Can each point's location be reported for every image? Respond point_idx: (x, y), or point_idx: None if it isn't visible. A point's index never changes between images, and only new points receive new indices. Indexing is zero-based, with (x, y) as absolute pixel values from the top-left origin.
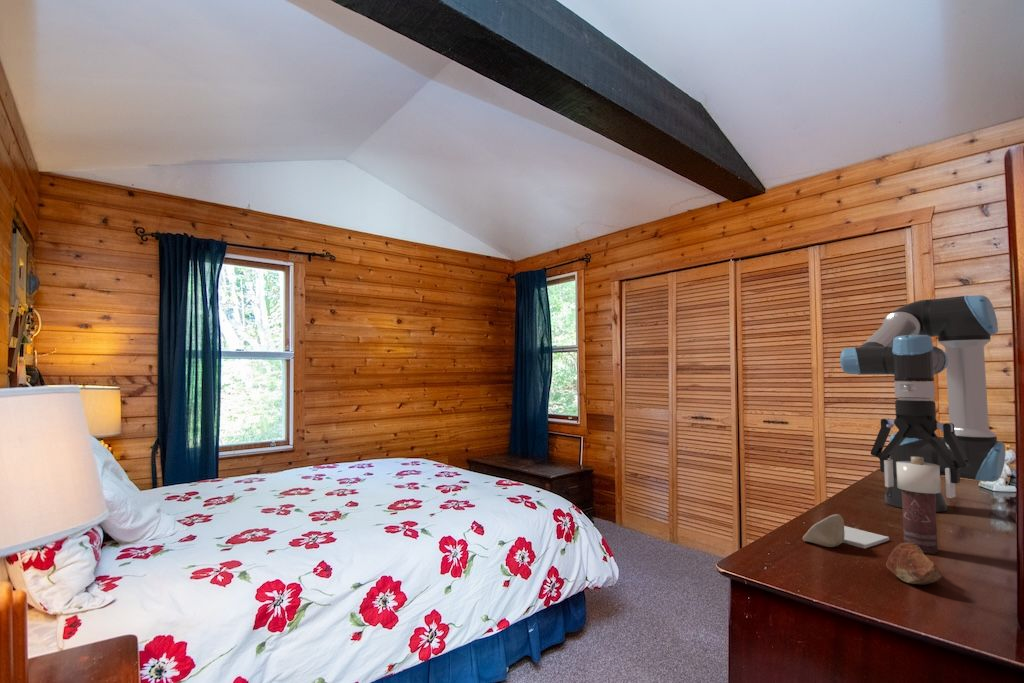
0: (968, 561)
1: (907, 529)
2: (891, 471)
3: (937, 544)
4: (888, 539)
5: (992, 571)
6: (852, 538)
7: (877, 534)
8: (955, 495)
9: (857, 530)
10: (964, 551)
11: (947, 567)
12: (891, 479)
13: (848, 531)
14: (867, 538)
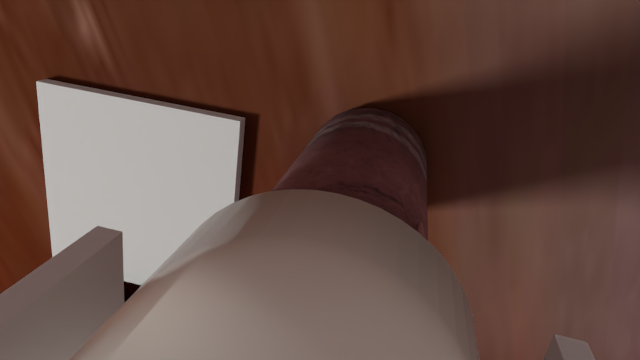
0: (537, 184)
1: None
2: (20, 345)
3: (426, 163)
4: (243, 125)
5: (616, 254)
6: (168, 255)
7: (196, 117)
8: (590, 350)
9: (125, 120)
10: (518, 24)
11: (476, 316)
12: (83, 302)
13: (114, 166)
14: (198, 213)
